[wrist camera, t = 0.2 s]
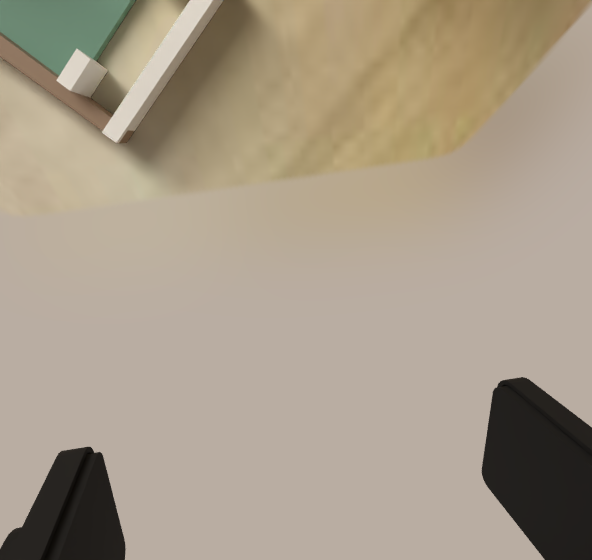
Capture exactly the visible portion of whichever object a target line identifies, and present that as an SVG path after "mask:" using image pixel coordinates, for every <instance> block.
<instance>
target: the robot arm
mask: <svg viewBox="0 0 592 560" xmlns="http://www.w3.org/2000/svg"><path fill="white" fill-rule="evenodd" d="M482 476H483V479H484V481H485V483H486V485H487V486H488V488H489V489H490V490H491V492H492V493H493V494H494V496H495V497H496V498H497V499H498V500H499V502H500V503H501V504H502V506H503V507H504V508H505V509H506V511H507V512H508V513H509V515H510V516H511V517H512V518H513V520H514V521H515V522H516V523H517V525H518V526H519V527H520V529H521V530H522V531H523V532H524V534H525V535H526V536H527V537H528V538H529V540H530V541H531V542H532V544H533V545H534V546H535V548H536V549H537V550H538V551H539V553H540V554H541V555H542V556H543V558H544V559H545V560H592V427H590V426H589V425H588V424H586V423H585V422H584V421H582V420H581V419H580V418H578V417H577V416H576V415H575V414H573V413H572V412H571V411H569V410H568V409H567V408H565V407H564V406H563V405H562V404H560V403H559V402H558V401H556V400H555V399H554V398H552V397H551V396H550V395H548V394H547V393H546V392H545V391H543V390H542V389H541V388H539V387H538V386H537V385H535V384H534V383H533V382H531V381H530V380H529V379H527V378H523V377H521V378H515V379H509V380H503V381H501V382H500V383H499V384H498V387H497V388H495V389H494V391H493V396H492V403H491V410H490V417H489V423H488V430H487V437H486V444H485V451H484V458H483V466H482ZM0 560H125V541H124V536H123V533H122V529H121V525H120V521H119V517H118V513H117V509H116V505H115V501H114V498H113V493H112V490H111V486H110V482H109V478H108V474H107V470H106V466H105V463H104V459H103V455H102V453H100V452H98V453H94V451H93V449H92V448H91V447H84V448H78V449H72V450H66V451H61V452H60V453H59V454H58V456H57V457H56V459H55V461H54V464H53V465H52V467H51V469H50V471H49V473H48V476H47V478H46V480H45V482H44V484H43V486H42V488H41V490H40V492H39V494H38V496H37V498H36V500H35V502H34V504H33V506H32V508H31V510H30V512H29V514H28V516H27V518H26V520H25V523H24V525H23V526H22V527H21V528H16V529H14V530H13V531H12V532H11V533H10V534H9V535H8V537H7V538H6V540H5V541H4V543H3V545H2V547H1V549H0Z"/></svg>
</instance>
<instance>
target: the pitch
mask: <svg viewBox="0 0 592 560" xmlns="http://www.w3.org/2000/svg"><path fill="white" fill-rule="evenodd" d="M135 1H136V0H0V57H2V58H3V59H4V60H6V61H7V62H9V63H10V64H11V65H13V66H14V67H15V68H17V69H18V70H20V71H21V72H22V73H24V74H25V75H26V76H28V77H29V78H31V79H32V80H33V81H35V82H36V83H37V84H39V85H40V86H42V87H43V88H44V89H46V90H47V91H48V92H50V93H51V94H53V95H54V96H55V97H57V98H58V99H59V100H61V101H62V102H64V103H65V104H66V105H68V106H69V107H70V108H72V109H73V110H75V111H76V112H77V113H79V114H80V115H81V116H83V117H84V118H86V119H87V120H88V121H90V122H91V123H92V124H94V125H95V126H97V127H98V128H99V129H101V130H102V133H103V134H105V135H106V136H107V137H109V138H110V139H111V140H113V141H114V142H116V143H127V141H128V140H129V138H130V137H131V136H132V134H133V133H134V131H135V130H136V128H137V127H138V125H139V124H140V122H141V121H142V119H143V118H144V117H145V115H146V114H147V112H148V111H149V109H150V108H151V106H152V105H153V103H154V102H155V100H156V99H157V97H158V96H159V95H160V93H161V92H162V90H163V89H164V87H165V86H166V84H167V83H168V81H169V80H170V78H171V77H172V75H173V74H174V73H175V71H176V70H177V68H178V67H179V65H180V64H181V62H182V61H183V59H184V58H185V56H186V55H187V53H188V52H189V51H190V49H191V48H192V46H193V45H194V43H195V42H196V40H197V39H198V37H199V36H200V34H201V33H202V31H203V30H204V29H205V27H206V26H207V24H208V23H209V21H210V20H211V18H212V17H213V15H214V14H215V12H216V11H217V9H218V8H219V7H220V5H221V4H222V2H223V1H224V0H190V1H189V2H188V4H187V5H186V7H185V8H184V10H183V11H182V13H181V14H180V16H179V17H178V19H177V20H176V22H175V23H174V25H173V26H172V28H171V29H170V31H169V32H168V34H167V35H166V37H165V38H164V40H163V41H162V43H161V44H160V46H159V47H158V49H157V50H156V52H155V53H154V55H153V56H152V58H151V59H150V61H149V62H148V64H147V65H146V67H145V68H144V70H143V71H142V73H141V74H140V76H139V77H138V79H137V80H136V82H135V83H134V85H133V86H132V88H131V89H130V91H129V92H128V94H127V95H126V97H125V98H124V100H123V101H122V103H121V104H120V106H119V107H118V109H117V110H116V112H115V113H114V115H113V114H111V113H110V112H109V111H107V110H106V109H105V108H103V107H102V106H101V105H99V104H98V103H97V102H95V101H94V100H93V99H91V98H90V97H91V96H92V94H93V93H94V91H95V90H96V88H97V87H98V85H99V84H100V82H101V81H102V79H103V77H104V76H105V74H106V73H107V71H108V70H107V69H105V68H104V67H103V66H102V65H100V64H99V63H98V62H97V60H98V58H99V57H100V55H101V53H102V52H103V50H104V49H105V47H106V46H107V44H108V43H109V41H110V40H111V38H112V36H113V35H114V33H115V32H116V30H117V29H118V27H119V26H120V24H121V23H122V21H123V19H124V18H125V16H126V15H127V13H128V12H129V10H130V9H131V7H132V6H133V4H134V2H135Z"/></svg>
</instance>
